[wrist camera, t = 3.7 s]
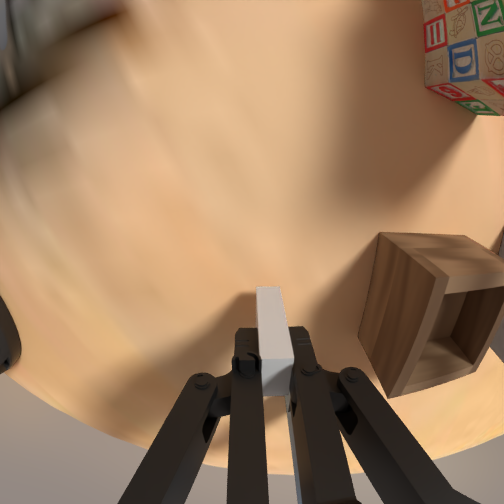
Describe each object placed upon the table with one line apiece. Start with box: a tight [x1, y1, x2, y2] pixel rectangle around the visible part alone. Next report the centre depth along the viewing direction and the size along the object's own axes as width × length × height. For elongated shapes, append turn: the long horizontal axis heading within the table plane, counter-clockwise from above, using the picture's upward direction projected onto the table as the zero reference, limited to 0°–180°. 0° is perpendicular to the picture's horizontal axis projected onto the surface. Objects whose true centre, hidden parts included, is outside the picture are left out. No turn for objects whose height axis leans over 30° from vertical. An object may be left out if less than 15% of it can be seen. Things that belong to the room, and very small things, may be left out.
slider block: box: [358, 232, 504, 399], centre depth 16 cm, size 9×9×7 cm
